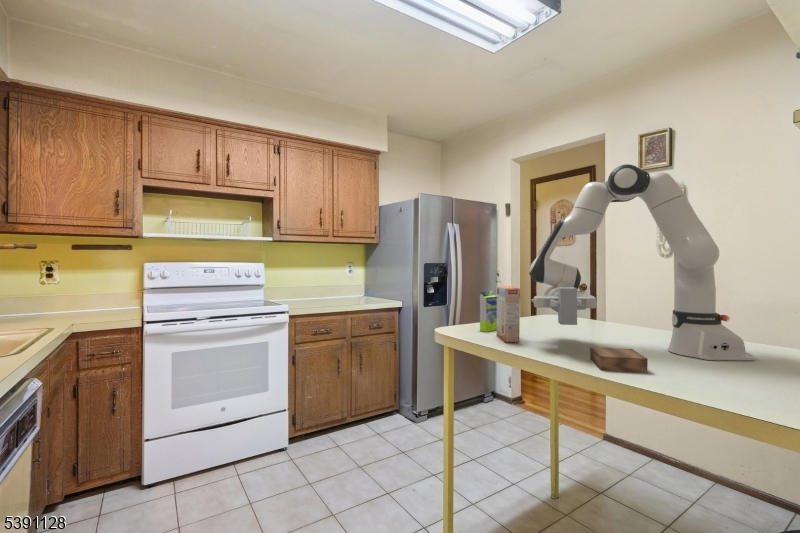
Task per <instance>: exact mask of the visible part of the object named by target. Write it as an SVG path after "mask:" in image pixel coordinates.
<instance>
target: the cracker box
mask: <svg viewBox="0 0 800 533" xmlns="http://www.w3.org/2000/svg"><path fill="white" fill-rule="evenodd" d="M496 296H497V330H496V332H495V333H496V337H498V338H499V339H501V340H502V341H503V342H504V343H516V344H517V343H520V327H521V325H520V323H521V322H520V321H521V320H520V316H521V314H520V312H521V310H520V309H521V308H520V307H521V289H520V288H518V287H515V286H510V285H497V286H496Z"/></svg>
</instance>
